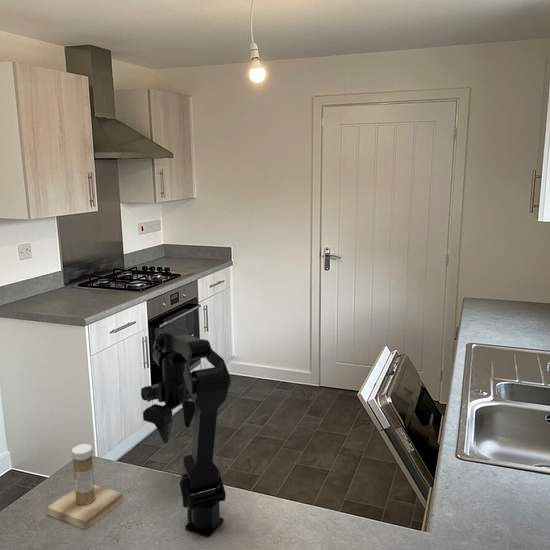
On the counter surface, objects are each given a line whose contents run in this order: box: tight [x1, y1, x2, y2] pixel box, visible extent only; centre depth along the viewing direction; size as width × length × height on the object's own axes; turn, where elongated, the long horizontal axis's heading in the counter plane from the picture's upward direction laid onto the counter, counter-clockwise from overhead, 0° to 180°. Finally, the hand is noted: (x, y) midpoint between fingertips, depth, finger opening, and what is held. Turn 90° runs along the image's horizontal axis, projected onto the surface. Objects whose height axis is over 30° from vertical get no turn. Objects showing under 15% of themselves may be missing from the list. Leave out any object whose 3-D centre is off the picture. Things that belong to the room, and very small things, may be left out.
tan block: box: [46, 483, 124, 530], centre depth 129 cm, size 12×12×2 cm
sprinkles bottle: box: [71, 443, 95, 505], centre depth 127 cm, size 5×5×14 cm
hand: (176, 434), depth 138 cm, fingers open, 9 cm apart
